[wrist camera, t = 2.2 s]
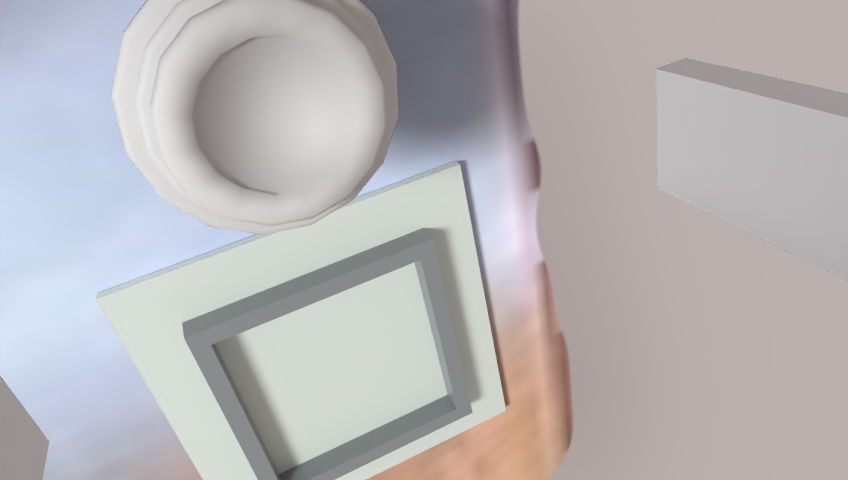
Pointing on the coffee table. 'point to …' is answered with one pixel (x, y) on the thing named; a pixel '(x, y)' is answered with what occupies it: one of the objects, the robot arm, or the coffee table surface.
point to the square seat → (322, 339)
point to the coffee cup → (256, 107)
